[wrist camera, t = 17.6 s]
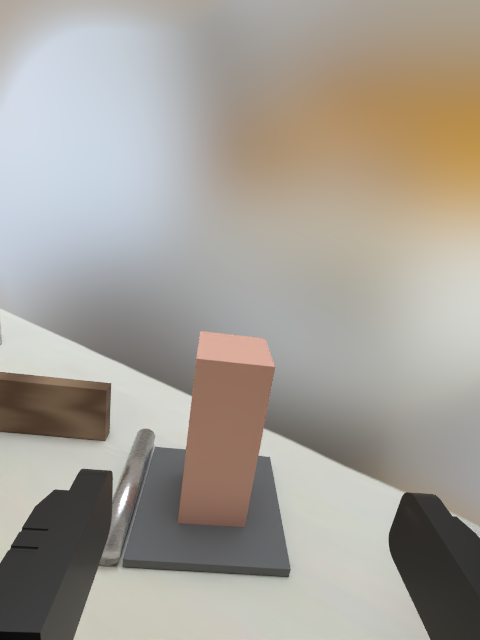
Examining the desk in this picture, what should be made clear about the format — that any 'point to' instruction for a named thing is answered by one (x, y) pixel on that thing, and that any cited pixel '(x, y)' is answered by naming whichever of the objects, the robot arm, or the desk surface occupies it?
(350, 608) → the desk surface
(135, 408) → the desk surface
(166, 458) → the mat
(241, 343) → the tall pink rectangular block
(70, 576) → the robot arm
